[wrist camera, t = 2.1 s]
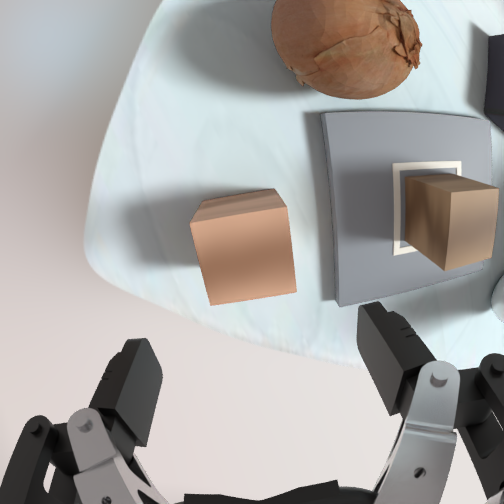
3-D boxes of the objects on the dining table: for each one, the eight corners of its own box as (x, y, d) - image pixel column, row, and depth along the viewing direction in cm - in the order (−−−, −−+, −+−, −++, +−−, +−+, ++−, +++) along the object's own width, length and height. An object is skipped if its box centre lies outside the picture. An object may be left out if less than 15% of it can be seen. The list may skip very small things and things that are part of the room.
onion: (357, 61, 20) (458, 60, 12) (298, 124, 20) (416, 139, 12) (295, -22, 14) (396, -59, 6) (214, 30, 14) (319, -31, 6)
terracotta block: (202, 200, 21) (189, 223, 16) (274, 188, 21) (287, 206, 16) (217, 265, 23) (210, 305, 18) (283, 254, 23) (296, 292, 18)
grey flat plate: (320, 114, 19) (325, 112, 18) (481, 120, 19) (490, 120, 17) (335, 300, 25) (339, 307, 24) (476, 265, 25) (482, 269, 23)
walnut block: (404, 176, 20) (451, 192, 14) (452, 173, 20) (499, 188, 14) (404, 240, 22) (444, 271, 16) (450, 232, 22) (491, 257, 16)
